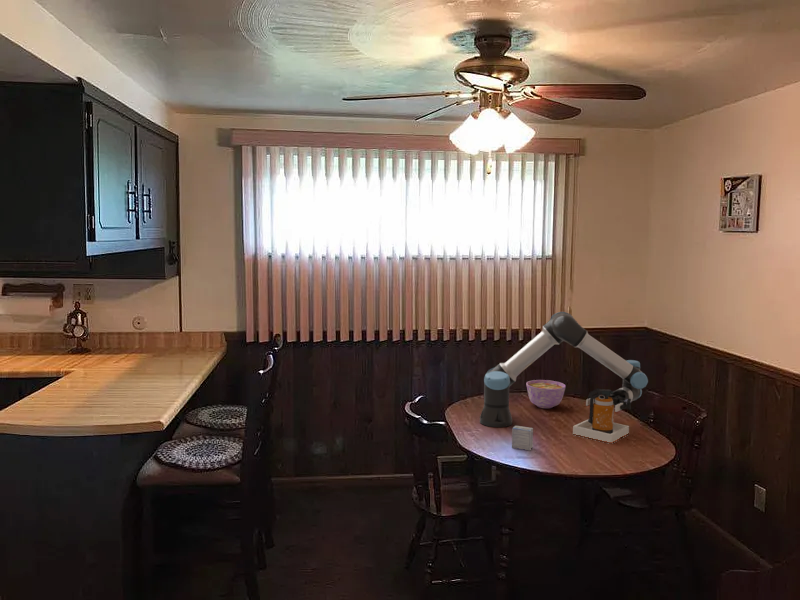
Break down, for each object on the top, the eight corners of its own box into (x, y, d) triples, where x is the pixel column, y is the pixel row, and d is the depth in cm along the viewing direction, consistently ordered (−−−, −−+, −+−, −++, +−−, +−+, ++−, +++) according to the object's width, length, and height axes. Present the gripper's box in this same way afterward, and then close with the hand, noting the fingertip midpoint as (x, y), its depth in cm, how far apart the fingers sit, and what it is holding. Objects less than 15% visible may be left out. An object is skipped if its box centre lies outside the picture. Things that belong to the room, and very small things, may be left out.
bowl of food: (518, 407, 340) (519, 385, 338) (534, 399, 356) (535, 378, 355) (556, 414, 328) (557, 391, 327) (570, 405, 345) (571, 383, 343)
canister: (613, 436, 291) (616, 392, 289) (587, 434, 293) (589, 390, 291) (611, 430, 300) (613, 387, 297) (586, 428, 302) (588, 385, 300)
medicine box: (532, 447, 278) (533, 427, 277) (530, 451, 274) (530, 430, 273) (514, 445, 281) (515, 425, 280) (511, 448, 277) (512, 428, 276)
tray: (611, 444, 284) (611, 435, 283) (572, 434, 296) (573, 426, 295) (628, 434, 297) (629, 425, 297) (591, 426, 309) (591, 417, 309)
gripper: (647, 410, 301) (627, 419, 285) (596, 399, 318) (575, 408, 302) (648, 393, 300) (628, 402, 285) (596, 384, 317) (575, 392, 301)
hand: (601, 405), depth 293 cm, fingers open, 13 cm apart
